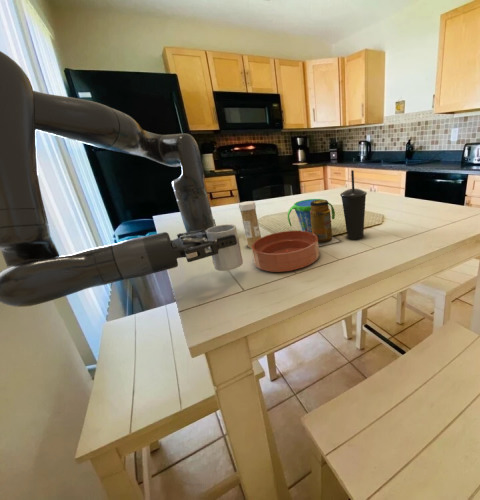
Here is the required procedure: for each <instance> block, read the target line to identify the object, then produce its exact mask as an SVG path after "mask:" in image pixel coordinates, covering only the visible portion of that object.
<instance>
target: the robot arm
mask: <svg viewBox="0 0 480 500" xmlns="http://www.w3.org/2000/svg"><path fill="white" fill-rule="evenodd" d="M36 131H38V132H42V133H46V134H50V135H53V136H57V137H60V138H63V139H68V140H71V141H75V142H79V143H83V144H86V145H90V146H93V147H97V148H100V149H105V150H108V151H113V152H118V153H123V154H127V155H131V156H137V157H141V158H146V159H149V160H150V161H153V162H155V163H159V164H161V165H164V166H167V167H173V168H178V167H181V174H180V175H179V177H177V178H175V179H173V180H172V181H171V187H172V189H173V192H174V193H173V194H174V196H175V199H176V203H177V206H178V210H179V212H180V213H179V214H180V217H181V220H182V223H183V226H184V229H185V232H182V233H180V232H179V233H178V234H176V237H177V238H175V239H171V237H170V234H169V233H168V232H166V231H165V232H164V231H163V232H159V233H153V234H150V235H145V236H139V237H134V238H129V239H125V240H122V241H119V242H116V243H112V244H107V245H103V246H102V245H101V246H96V247H92V248H88V249H85V250H82V251H79V252H75V253H73V254H68V255H61V256H60V253H59V251H58V249H57V247H56V245H55V243H54V240H53V239H52V236H51V231H50V230H51V229H50V226H49V221H48V216H47V213H46V210H45V205H44V200H43V196H42V191H41V188H40V187H41V186H40V181H39V172H38V171H39V170H38V158H37V137H36V136H37V135H36ZM214 226H217V223H216V220H215V219H214V215H213V213H212V208H211V203H210V199H209V195H208V191H207V189H206V184H205V171H204V167H203V161H202V156H201V151H200V147H199V145H198V142H197V140H196V139H195V137H194V136H193V135H191V134H189V133H173V134H158V133H153V132H150V131H147V130H145V129H143V128H142V127H141V125H140V124H139V123H138V122H137V121H136V120H135V119H134V118H133V117H132V116H130V115H129V114H126V113H125V112H123V111H120V110H118V109H115V108H113V107H110V106H108V105H105V104H102V103H100V102H97V101H92V100H88V99H84V98H83V99H82V98H78V97H73V96H72V97H71V96H64V95H57V94H50V93H45V92H40V91H36V90H34V89H33V86H32V83H31V81H30V78H29V77H28V75H27V74H26V72H25V70H23V68H22V67H21V66H20V65H19V64H18V63H17V62H16V61H15V60H14V59H13V58H11V57H10V56H9V55H7V54H6V53H5V52H3V51H1V50H0V253H1V256H2V258H3V260H4V262H5V265H6V267H5V268H3V269H2V270H0V303H1V304H3V305H6V306H10V307H14V308H15V307H16V308H25V307H32V306H37V305H41V304H44V303H48V302H52V301H54V300H57V299H60V298H61V299H62V298H65V297H68V296H70V295H73V294H76V293H78V292H81V291H84V290H88V289H91V288H96V287H102V286H105V285H109V284H113V283H116V282H119V281H123V280H124V281H125V280H130V279H136V278H142V277H145V276H149V275H153V274H156V273H159V272H164V271H168V270H172V269H176V268H177V267H178V266H179V262H178V259H183V258H185V259H186V262H187V263H192V262H195V261H199V260H202V259H206V258H209V257H212V255H216V254H218V253H219V252H218V251H219V250H220V249H221V248H225V247H229V246H233V245H236V244H237V240H236V236H235V235H229V236H225V237H221V238H217V239H208V238H207V234H206V230H207V229H208V228H211V227H214ZM210 247H211V248H210Z"/></svg>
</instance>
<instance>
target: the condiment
mask: <svg viewBox="0 0 480 500" xmlns="http://www.w3.org/2000/svg"><path fill="white" fill-rule="evenodd" d="M328 202H329V200H327V199H323V200H314V201H312V202H311V211H310V217H311V227H312V233H314V234H315V235H316V236H317V237H318V245H319V247H322V246H327V245H332V244H335V243H339V242H340V240H339V239H338V238H336V237H334V236H332V235H333V230H332V227H333V226H332V220H331V219H332V214H331V210H330V205H329V204H328Z"/></svg>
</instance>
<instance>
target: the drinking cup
mask: <svg viewBox="0 0 480 500" xmlns="http://www.w3.org/2000/svg"><path fill="white" fill-rule="evenodd" d="M350 174H351V188H349V189H346V190H344V191H343V192H340V194H339V195H340V197H341V203H342V209H343V210H342V211H343V215H344V216H343V217H344V222H345V228H346V236H347V239H348V240H350V241H358V240H362V239H364V233H365V231H364V230H365V216H366V215H365V214H366V197H367V194H368V193H367V191H365V190H362V189H360V188H355V171H354V170H351V171H350Z"/></svg>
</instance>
